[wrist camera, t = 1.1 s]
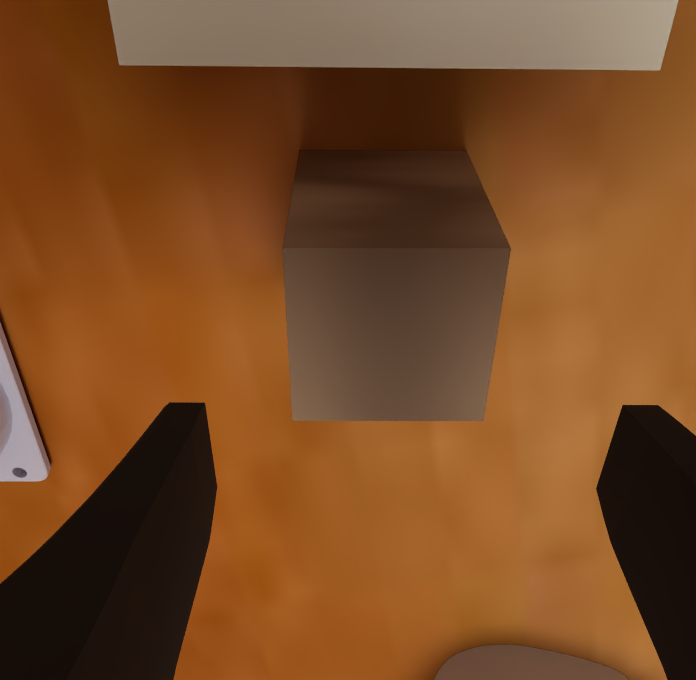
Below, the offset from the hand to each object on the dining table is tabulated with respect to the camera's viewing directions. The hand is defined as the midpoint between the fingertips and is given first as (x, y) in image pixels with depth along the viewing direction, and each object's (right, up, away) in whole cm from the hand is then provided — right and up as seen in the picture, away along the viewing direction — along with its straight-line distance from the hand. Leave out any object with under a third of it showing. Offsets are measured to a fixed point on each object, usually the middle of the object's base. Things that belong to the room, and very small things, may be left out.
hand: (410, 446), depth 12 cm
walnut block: (0, +5, +8) cm, 10 cm away
